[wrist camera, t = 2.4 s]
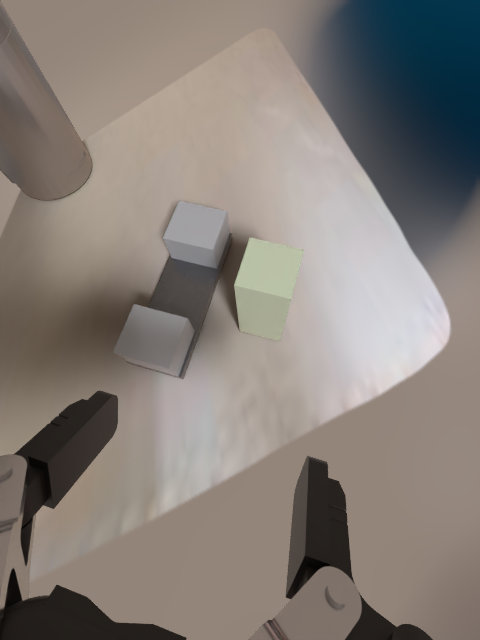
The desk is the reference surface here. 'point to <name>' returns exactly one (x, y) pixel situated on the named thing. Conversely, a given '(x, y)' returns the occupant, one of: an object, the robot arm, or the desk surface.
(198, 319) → the dark gray flat board
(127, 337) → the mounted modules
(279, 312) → the block
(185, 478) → the desk surface
